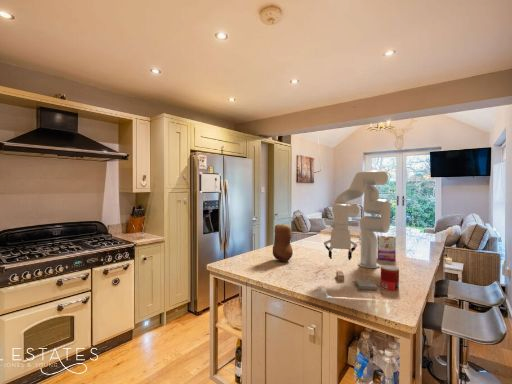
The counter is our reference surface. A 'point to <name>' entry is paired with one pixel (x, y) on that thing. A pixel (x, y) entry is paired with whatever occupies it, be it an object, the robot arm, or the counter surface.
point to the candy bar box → (386, 247)
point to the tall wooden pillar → (340, 275)
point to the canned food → (390, 277)
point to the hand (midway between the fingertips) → (339, 258)
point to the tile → (366, 284)
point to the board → (366, 289)
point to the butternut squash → (282, 243)
